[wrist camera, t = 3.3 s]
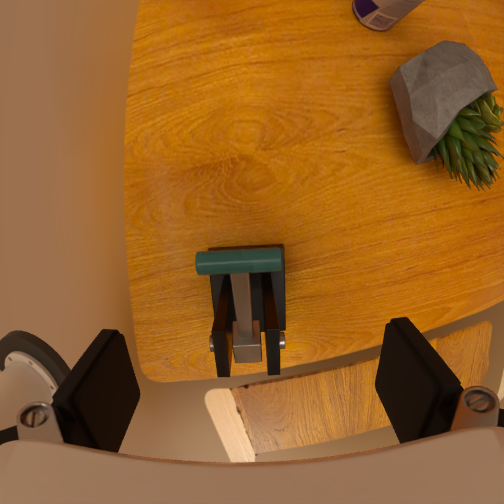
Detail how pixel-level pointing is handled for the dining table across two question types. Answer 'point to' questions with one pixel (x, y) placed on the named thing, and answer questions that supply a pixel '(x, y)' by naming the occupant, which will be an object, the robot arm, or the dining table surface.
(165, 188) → the dining table surface
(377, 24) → the energy drink
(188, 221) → the dining table surface
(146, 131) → the dining table surface
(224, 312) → the bracket
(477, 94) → the potted plant
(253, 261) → the lever
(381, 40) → the dining table surface
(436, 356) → the robot arm
